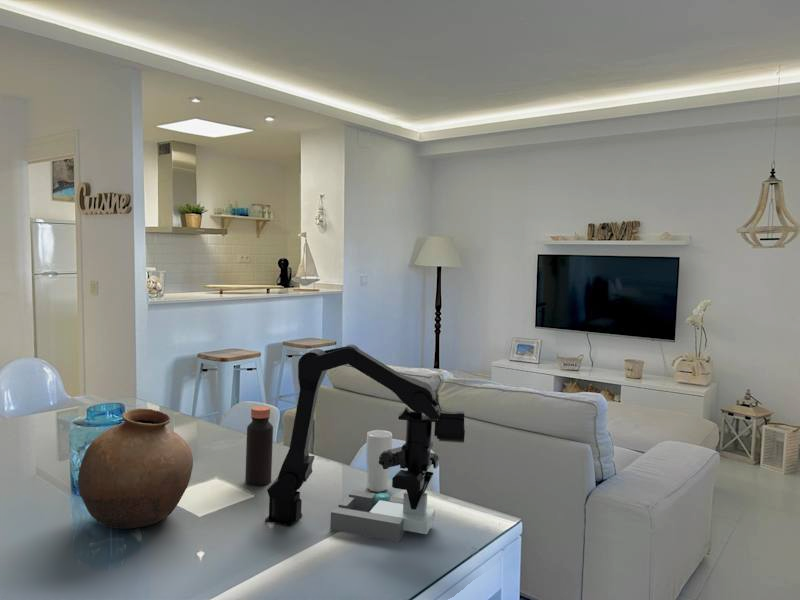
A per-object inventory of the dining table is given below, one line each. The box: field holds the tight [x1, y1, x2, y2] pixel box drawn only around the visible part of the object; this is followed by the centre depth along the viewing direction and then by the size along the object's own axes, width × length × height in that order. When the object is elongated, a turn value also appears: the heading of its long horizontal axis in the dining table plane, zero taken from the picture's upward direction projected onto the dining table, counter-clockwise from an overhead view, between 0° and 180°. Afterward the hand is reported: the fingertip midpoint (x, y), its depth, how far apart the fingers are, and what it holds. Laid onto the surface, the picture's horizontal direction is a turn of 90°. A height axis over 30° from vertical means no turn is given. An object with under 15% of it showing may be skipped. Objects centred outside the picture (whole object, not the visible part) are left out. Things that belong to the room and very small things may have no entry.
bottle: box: [244, 405, 274, 487], centre depth 158 cm, size 7×7×20 cm
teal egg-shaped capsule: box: [375, 492, 391, 505], centre depth 142 cm, size 3×3×3 cm
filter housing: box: [329, 489, 407, 543], centre depth 136 cm, size 16×14×4 cm
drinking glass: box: [365, 429, 393, 493], centre depth 157 cm, size 7×7×15 cm
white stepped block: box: [369, 490, 436, 535], centre depth 134 cm, size 14×7×7 cm, turn 74°
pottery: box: [77, 408, 194, 530], centre depth 130 cm, size 23×23×25 cm
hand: (414, 507), depth 134 cm, fingers closed on white stepped block, 2 cm apart
